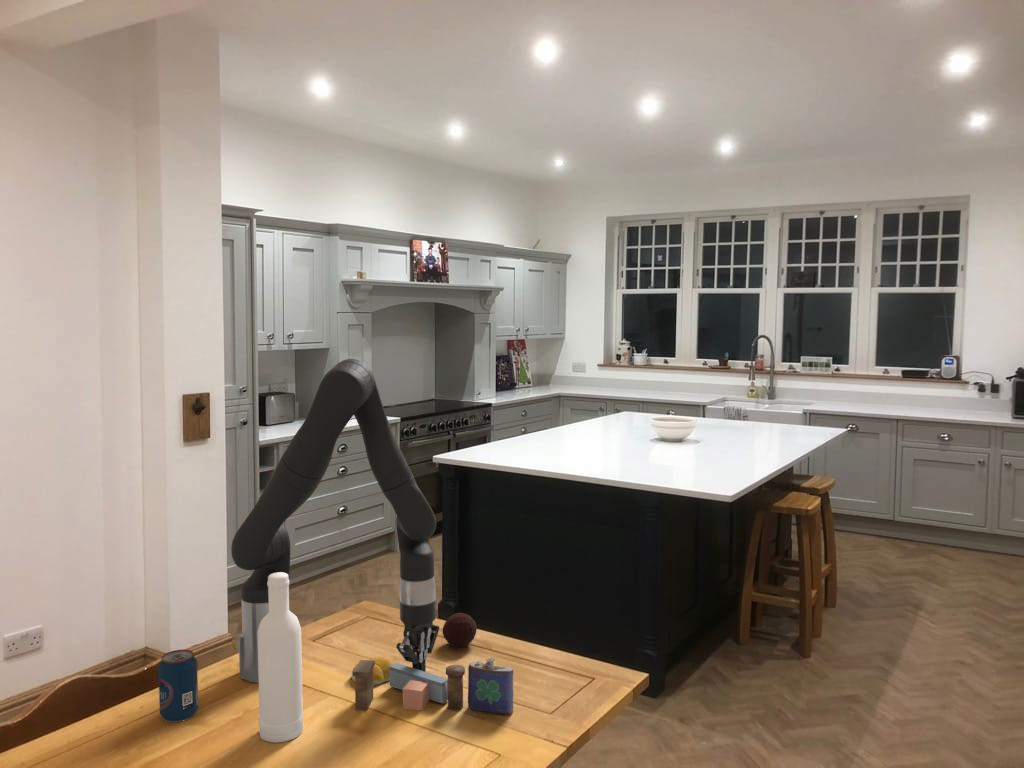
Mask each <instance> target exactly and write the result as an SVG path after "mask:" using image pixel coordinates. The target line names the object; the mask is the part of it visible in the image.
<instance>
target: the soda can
mask: <svg viewBox="0 0 1024 768" xmlns="http://www.w3.org/2000/svg"><path fill="white" fill-rule="evenodd" d="M198 681H199V679H198V661H197V658H196V657H195V655H194V652H193V650H190V649H176V650H172V651H169V652H166V653H164V654H163V655H162V656H161V661H160V662H159V664H158V694H159V695H158V696H159V697H158V698H159V699H158V700H159V714H160V716H161V717H162V719H163V720H164V721H165V720H166V722H167V721H168V722H167V723H173V722H174V723H180V722H179V721H182V722H184V721H183V720H185V721H187V720H186V719H188V720H189V718H190V719H192V718H193V717H194V716H195V714H196V713H197V710H198V708H199V685H198ZM193 715H194V716H193ZM192 716H193V717H192Z"/></svg>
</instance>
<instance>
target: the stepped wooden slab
mask: <svg viewBox="0 0 1024 768" xmlns="http://www.w3.org/2000/svg"><path fill="white" fill-rule="evenodd" d="M357 664H358V665H357ZM357 664H356V665H357V666H356V665H355V666H356V668H355V670H354V671H353V670H352V671H353V676H355V681H354V692H355V693H354V695H355V702H354V703H355V710H356V711H369V710H368V709H369V708H370V706H371V704H372V702H373V700H374V685H373V667H374V665H375V660H371V659H369V660H368V659H365V660H364V659H360V660H359V661H358V663H357Z"/></svg>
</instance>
